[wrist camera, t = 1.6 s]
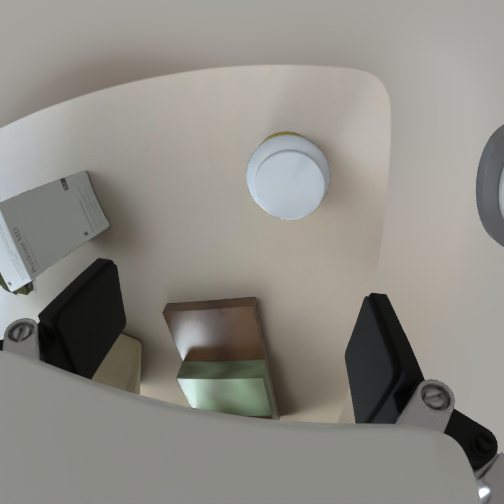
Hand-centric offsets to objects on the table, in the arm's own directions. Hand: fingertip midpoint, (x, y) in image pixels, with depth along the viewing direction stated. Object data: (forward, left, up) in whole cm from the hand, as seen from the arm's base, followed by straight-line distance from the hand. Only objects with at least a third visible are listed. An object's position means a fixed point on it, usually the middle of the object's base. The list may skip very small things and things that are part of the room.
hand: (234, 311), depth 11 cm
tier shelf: (+10, +27, -22) cm, 36 cm away
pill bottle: (-2, -2, -22) cm, 23 cm away
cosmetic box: (+24, -2, -22) cm, 32 cm away
